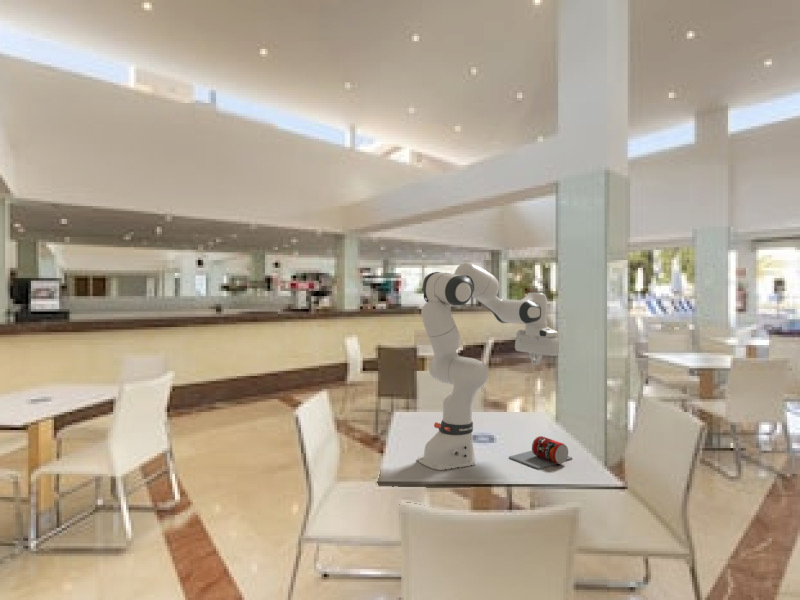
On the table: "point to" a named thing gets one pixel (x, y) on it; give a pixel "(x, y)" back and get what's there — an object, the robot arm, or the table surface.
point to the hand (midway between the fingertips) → (535, 364)
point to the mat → (533, 460)
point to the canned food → (550, 449)
